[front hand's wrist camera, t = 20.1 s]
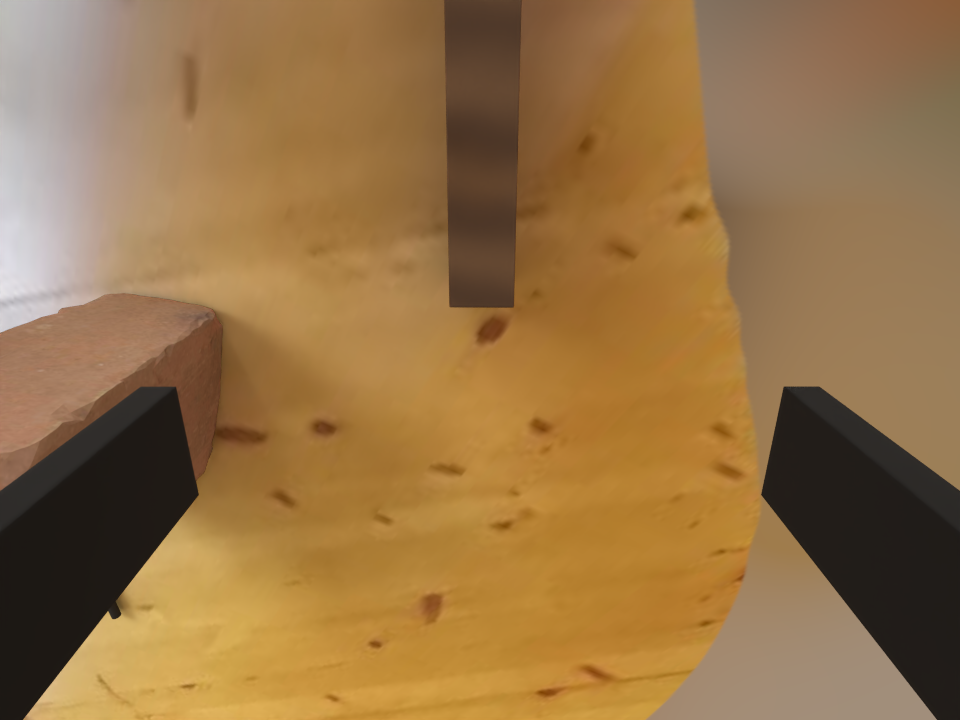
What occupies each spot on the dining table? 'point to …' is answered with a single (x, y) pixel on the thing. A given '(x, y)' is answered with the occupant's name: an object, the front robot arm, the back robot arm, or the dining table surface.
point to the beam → (482, 148)
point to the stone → (105, 373)
